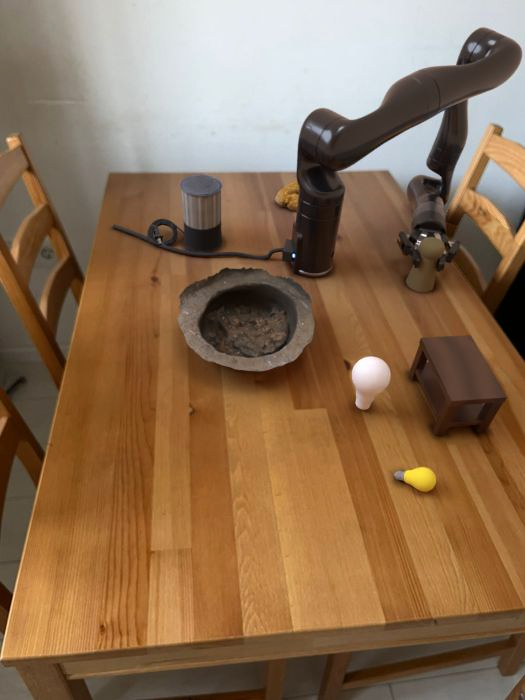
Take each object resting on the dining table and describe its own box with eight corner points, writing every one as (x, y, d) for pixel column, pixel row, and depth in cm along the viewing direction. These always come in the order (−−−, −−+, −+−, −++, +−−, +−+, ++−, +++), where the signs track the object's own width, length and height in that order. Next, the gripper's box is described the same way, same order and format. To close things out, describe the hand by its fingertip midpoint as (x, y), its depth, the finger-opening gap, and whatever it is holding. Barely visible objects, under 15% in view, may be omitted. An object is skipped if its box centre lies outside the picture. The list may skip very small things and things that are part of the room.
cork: (434, 294, 111) (449, 251, 103) (405, 289, 111) (419, 246, 104) (433, 277, 115) (448, 235, 107) (406, 273, 116) (419, 231, 108)
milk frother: (230, 247, 120) (230, 188, 109) (169, 267, 113) (163, 206, 103) (200, 219, 128) (198, 162, 117) (142, 236, 121) (133, 177, 111)
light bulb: (435, 496, 76) (434, 488, 73) (394, 489, 78) (391, 481, 76) (437, 474, 77) (436, 466, 75) (397, 467, 80) (394, 459, 77)
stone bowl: (247, 283, 110) (251, 248, 103) (335, 351, 99) (346, 316, 92) (151, 335, 97) (149, 298, 90) (241, 419, 86) (246, 385, 79)
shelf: (435, 436, 84) (451, 401, 77) (407, 373, 94) (420, 337, 87) (486, 432, 85) (507, 397, 79) (454, 370, 95) (470, 334, 88)
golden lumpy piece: (272, 194, 139) (273, 177, 135) (312, 194, 140) (314, 177, 137) (277, 213, 132) (278, 196, 128) (319, 212, 133) (321, 195, 130)
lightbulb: (371, 427, 85) (385, 382, 77) (338, 410, 87) (348, 366, 79) (385, 403, 88) (400, 358, 81) (353, 388, 90) (364, 343, 83)
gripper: (401, 204, 117) (398, 245, 105) (465, 214, 115) (469, 257, 103) (393, 233, 122) (390, 275, 110) (454, 243, 120) (457, 286, 108)
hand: (428, 266), depth 107 cm, fingers closed on cork, 4 cm apart
